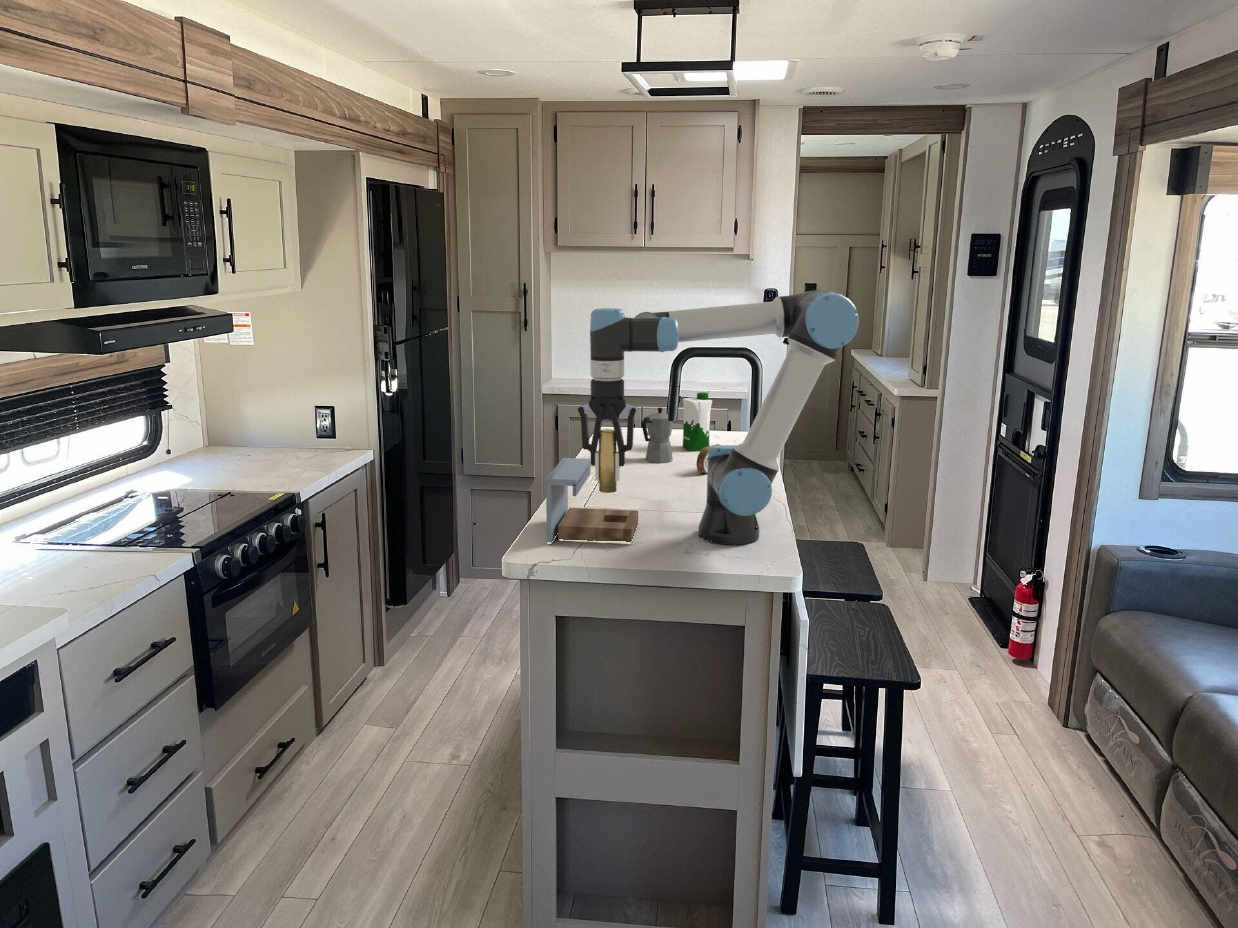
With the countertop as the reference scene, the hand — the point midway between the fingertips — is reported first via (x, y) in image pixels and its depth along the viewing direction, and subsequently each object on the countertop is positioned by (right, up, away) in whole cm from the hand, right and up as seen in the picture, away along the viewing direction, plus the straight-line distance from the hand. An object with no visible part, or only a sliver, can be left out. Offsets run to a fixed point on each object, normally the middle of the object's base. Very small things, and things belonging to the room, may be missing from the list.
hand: (607, 479), depth 210 cm
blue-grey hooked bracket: (-10, -14, +21) cm, 27 cm away
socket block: (-2, -14, +20) cm, 25 cm away
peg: (0, -3, +1) cm, 3 cm away
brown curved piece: (+33, +1, +84) cm, 90 cm away
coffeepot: (+15, +4, +98) cm, 99 cm away
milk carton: (+30, +9, +116) cm, 120 cm away
